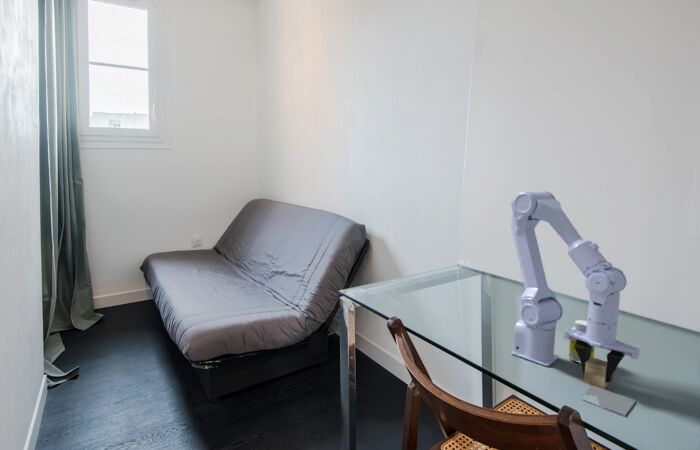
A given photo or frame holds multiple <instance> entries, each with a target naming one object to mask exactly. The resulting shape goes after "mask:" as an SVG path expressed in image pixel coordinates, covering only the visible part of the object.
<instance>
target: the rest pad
mask: <svg viewBox="0 0 700 450" xmlns="http://www.w3.org/2000/svg"><path fill="white" fill-rule="evenodd" d="M584 394H586V395H589V396H590V395H592V396H596V397H597V399H598V401H599V405H600V406H602V407H605V408H607V409H610V410H612V411H614V412H616V413H615V414H617V413H618V414H617V415H619V414H621V415H620V416H622V415H623V417H624V416H625V417H626V416H627V415H626V414H629V412H630V410H631V409H632V408H633V406H634V404H635V403H636V402H637V401H636V400H634V399H632V398H630V397H627V396H624V395H621V394H619V393H615V392H613V391H609V390H608V389H602V388H599V387H596V386H592V385H591V387H590V388H589V389H588V390H587V391H586V392H585V393H584ZM607 409H606V410H607ZM612 411H611V412H612ZM614 412H613V413H614Z"/></svg>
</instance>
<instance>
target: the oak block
mask: <svg viewBox="0 0 700 450" xmlns="http://www.w3.org/2000/svg"><path fill="white" fill-rule="evenodd" d="M606 372H607V360H602V359H600V358H596V357H594V358H593V357H591V358H590V359H589V360H587V361H586V364H585V375H584V374H583V376H584V378H583V384H584V383H585V384H587V385H590V386H591V387H592V386H596V387H599V388H602V389H604V390H606V388H607V387H608V385H609V384H610V383H607V382H606Z"/></svg>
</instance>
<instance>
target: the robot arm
mask: <svg viewBox="0 0 700 450" xmlns="http://www.w3.org/2000/svg"><path fill="white" fill-rule="evenodd" d="M510 207H511V211H512V215H511V223H510V227H511V231H512V236H513V241H514V245H515V249H516V254H517V255H516V256H517V258H518V262H519V266H520V271H521V275H522V281H523V286H524V289H525V290H524V291H523V293H522V294H521V296H520V297H519V299H520V301H519V302H520V309H519V310H520V311H519V314H520V317H521V319H518V321H517V322H516V323H515V326H514V330H513V340H512V341H513V343H512V351H511V355H514V356H515V357H519V358H522V359H525V360H527V361H530V362H533V363H535V364H539V365H542V366H544V367H549V366H550V365H552V364H553V363H554V362H556V361H557V360H558V359H560V355H558V354H554V353H555V344H556V328H557V324H558V321H560V319H561V318H562V317H563V314H564V309H563V307H562V304H561V302H560V301H559V300H558V298H557V295H556V292H555V291H553V290H552V289H551V288H550V287H549V286H548V281H547V278H546V273H545V268H544V265H543V260H542V256H541V252H540V247H539V244H538V240H537V235H536V231H535V229H536V227H537V226H538V224H539V223H540V222H541V221H543V222H545V223H546V222H547V223H548V224H549V225H550V226H551V227H552V229H553V230H554V231H555V232H556V234H557V235H558V236H559V237H560V238H561V239H562V241H564V243H565V244H566V245H567V246H568V249H567V250H568V251H567V255H568V256H569V257H570V258H571V260H572V261H573V263H574V264H575V265H576V267H577V268H578V269H579V271H580V272H581V273H582V274H583V276H584V277H585V278H586V279H585V280H584V284H585V288H586V289H587V290H588V293H589V294H588V295H589V296H588V298H589V299H588V310H587V318H586V319H587V320H586V321H587V330H586V332H581V331H575V330H571V328H567V329H566V330H564V339H566V340H570V339H572V340H576V344H575V345H574V347H575V350H576V351H577V354H578V356H579V358H580V361H581V364H580V365H581V371H582V375H583V376H584V375H585V364H586V361H587V360H589V359H590V355H591V350H592V346H594V348H598V349H604V350H607V351H609V352H608V353H607V354H606V362H607V372H606V382H607V383H609V384H610V383H611V382H612V381H613V376H614V373H615V371H616V369H617V367H619V364H620V363H621V361H622V360H623V358H624V357H625V356H628V357H630V358H632V359H634V360H638V359H639V358H640V355H641V348H639V347H636V346H633V345H630V344H629V343H625V342H622V341H619V340H618V339H617V330H618V323H619V322H618V321H619V311H620V301H621V291H623V290H624V289H625V288H626V286H627V277H626V275H625V274H624V271H623V270H622V269H620V268H618V267H615V266H613V264H612V262H610V261H609V262H608V260H607V259H606V257H604V255H603V254H602V253H601V251H600V250H599V249H600V246H599V245H598V243H593V241H592V240H588V239H583V237H582V236H581V235H580V233H579V232H578V231H577V229H576V227H575V226H574V225H573V223H572V222H571V220H570V218H569V217H568V216H567V214H566V213H565V212H564V210H563V209H562V206H561V202H560V201H559V200H558V199H557V198H556V197H555V195H554V194H553V193H551V192H550V191H548V190H545V191H543V190H542V191H526V190H525V191H524V190H523V191H520V192H518V193H517V194H516V195H515V196H514V199H512V201H511V203H510Z"/></svg>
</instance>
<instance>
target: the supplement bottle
mask: <svg viewBox="0 0 700 450" xmlns="http://www.w3.org/2000/svg"><path fill="white" fill-rule="evenodd" d="M570 330H575V331H581V332H586V330H587V320H581V319H578V320H575V321H574V327H572V328H570ZM575 344H576V340H572V339H569V348H568V358H569V360H571V361H572V360H573V361H572V362H574V361H580V358H579V356H578V354H577V351H576V350H575V347H574V345H575ZM594 356H595V347H594V346H592V350H591V355H590V358H591V357H593V358H595V357H594ZM580 362H581V361H580Z"/></svg>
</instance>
